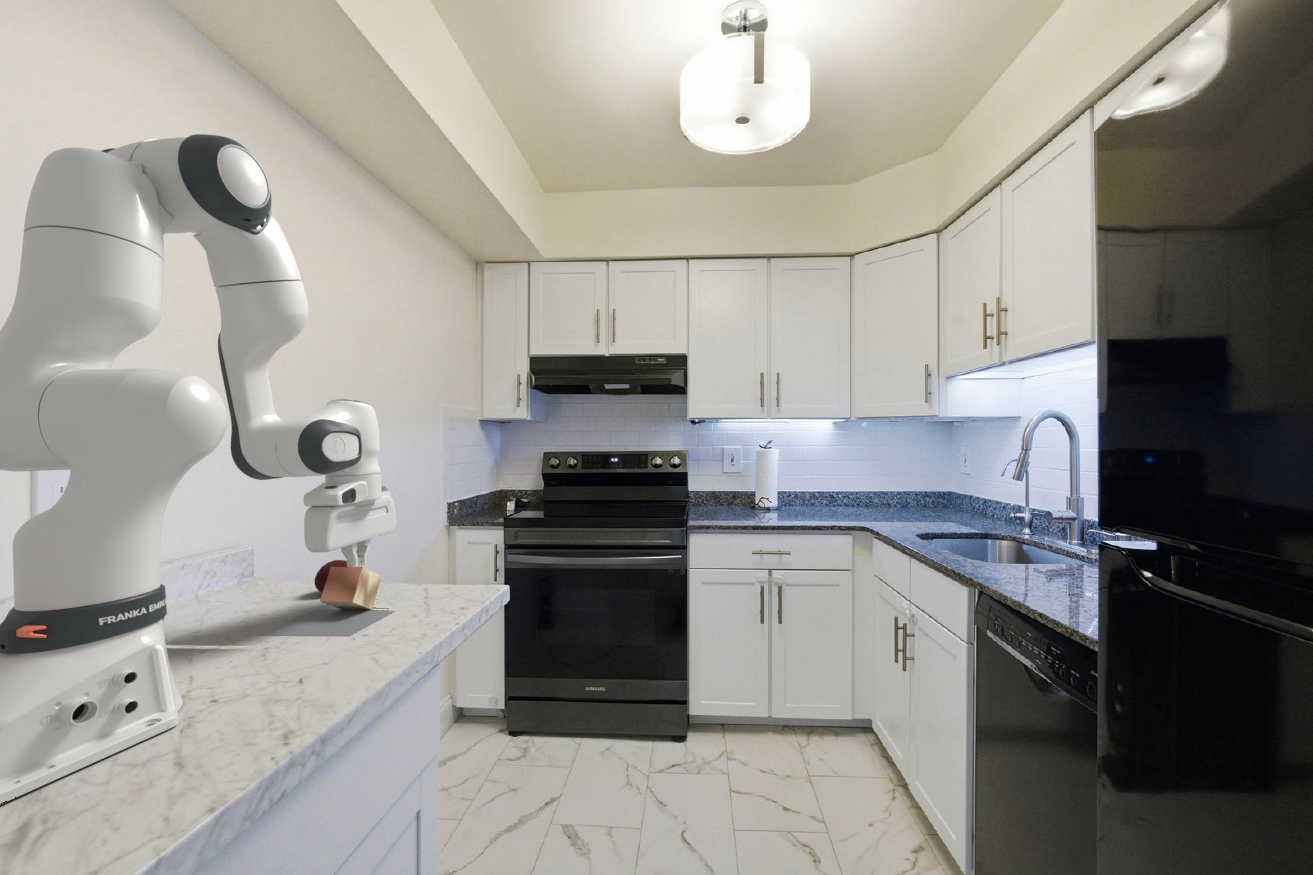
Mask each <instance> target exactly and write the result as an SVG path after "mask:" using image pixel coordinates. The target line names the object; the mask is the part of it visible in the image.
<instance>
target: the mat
mask: <svg viewBox="0 0 1313 875" xmlns="http://www.w3.org/2000/svg"><path fill="white" fill-rule="evenodd" d="M372 609H389V608H376V607H373V608H372ZM394 613H395V611H389V610H386V611H385V610H381V611H380V610H351V609H339V608H336V607H333V606H330V605H327V604H324V605H323V606H320V607H317V608H315V609H313V610H311V611H308V612H306V613H304V614H302V615H298V616H297V617H295V618H292V619H290V620H287V621H284V622H283V623H280V624H279V625H276V626H273V627H272V628H269V629H267V630H265V631H261V632H259V633H257V634H255V637H257V636H260V637H261V636H262V637H263V636H264V637H265V636H267V637H269V636H271V637H272V636H273V637H275V636H276V637H278V636H279V637H281V636H282V637H284V636H286V637H351V636H353V635H355V634H356V633H358V632H360V631H362V630H364V629H366V628H367V627H370V626H372V625H373V624H375V623H377V622H379V621H381V620H382V619H385V618H386V617H389V616H390V615H392V614H394Z"/></svg>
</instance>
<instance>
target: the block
mask: <svg viewBox="0 0 1313 875" xmlns="http://www.w3.org/2000/svg"><path fill="white" fill-rule="evenodd" d="M381 579H382V575H379V574H378V573H376V572H374V571H372V570H369V569H368V568H365V567H364V566H360V567H331V569H330V572H329V575H328V578H327V581H326V584H325V587H324V590H323V593H321V596H320V599H319V602H320V603H323V604H324V605H330V606H333V607H336V608H339V609H351V610H372V608H373V605H374V601H375V600H376V597H377V595H378V590H379V587H380V584H381Z"/></svg>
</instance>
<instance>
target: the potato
mask: <svg viewBox="0 0 1313 875" xmlns="http://www.w3.org/2000/svg"><path fill="white" fill-rule="evenodd" d="M331 567H347V560H344V559H343V560H342V559H334V560H331V561H328V562H326V563H325V564H323V565H322V566H321V567H320V568H319V570H317V572H316V574H315V578H314V586H315V588H316V590H317V591H318V592H320V593H321V594H322V593H323V590H324V587H325V584H326V581H327V578H328V575H329V572H330V569H331Z"/></svg>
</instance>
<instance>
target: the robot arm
mask: <svg viewBox="0 0 1313 875" xmlns="http://www.w3.org/2000/svg"><path fill="white" fill-rule="evenodd" d="M271 191H272V190H271V186H270V182H269V179H268V176H267V173H266V171H265V170H264V168H263V166H262V165H261V163H260V162H259V161H258V159H257V158H256V157H255V155H253V153H252V154H251V152H250V151H249V150H248V149H247V148H246V147H245V146H243V145H242V144H241V143H240V142H238V141H236V140H234V139H232V138H230V137H226V136H221V135H217V134H205V133H203V134H202V133H201V134H198V133H197V134H191V135H189V136H187V137H183V136H182V137H170V138H169V137H167V138H159V139H157V138H150V139H145V140H140V141H135V142H132V143H129V144H125V145H122V146H119V147H117V148H116V147H115V148H113V147H112V148H106V149H103V150H97V149H93V148H86V147H64V148H61V149H56V150H55V151H52V152H51V153H49V154H48V155H47V156H45V158H44V159H43V161H42V162H41V165H40V167H39V169H38V172H37V174H36V176H35V180H34V182H33V185H32V188H31V191H30V195H29V199H28V201H27V207H26V212H25V215H24V216H25V218H24V225H23V235H22V245H21V246H22V247H21V248H22V249H21V257H20V265H19V266H20V267H19V274H18V281H17V286H16V287H17V288H16V292H15V293H16V294H15V297H14V301H13V304H12V308H11V310H10V313H9V315H8V317H7V318H6V321H5V322H4V324H3V326H2V327H1V328H0V329H1V330H0V471H5V472H40V471H41V472H42V471H44V472H46V471H70V473H69V478H68V481H67V485H66V487H65V489H64V491H63V493H62V495H60V498H59V499H58V500H57V502H56V503H55V504H54V505H53V506H52V507H51V508H49V509H46V510H44V511H42V512H40V513H39V514H38V513H37V514H36V515H34V516H33V517H31V518H30V519H28V520H27V521H26V522H25V523H23V524H22V525H21V526H20V527H19V528H18V530H17V531H16V533H15V535H14V537H13V540H12V564H13V565H12V566H13V567H12V568H13V604H14V605H13V607H12V608H11V609H10V610H9V611H8V613H7V615H6V616H5V618H4V620H3V621H1V623H0V803H2V802H5V801H7V802H9V801H11V800H14V799H16V798H18V797H21V796H23V795H25V794H27V793H29V792H31V791H33V790H36V789H38V788H41V787H42V786H44V785H47V784H50V783H51V782H54V781H55V780H59V779H60V778H63V777H65V776H67V775H69V774H71V773H73V772H76V771H78V770H80V769H83V768H85V767H87V766H89V765H92V764H93V763H96V762H99V761H100V760H102V759H105V758H107V757H109V756H110V757H111V755H114V754H116V753H119V752H120V751H123V750H125V749H127V748H130V747H132V746H134V745H137V744H139V743H140V742H142V741H145V740H148V739H149V738H152V737H154V736H156V735H159V734H161V733H163V732H165V731H168V730H169V729H172V728H174V727H176V726H177V725H178V724H179V723H180V717H179V710H180V709H181V707H182V706H183V704H184V699H183V698H182V695H181V693H180V691H179V689H178V686H177V684H176V681H175V678H174V675H173V671H172V668H171V664H170V660H169V655H168V654H169V653H168V649H167V644H166V638H165V630H164V619H165V617H166V616H167V614H168V612H167V610H168V609H167V603H168V602H167V596H166V586H165V585H164V584H163V583H161V543H162V541H161V539H162V525H163V520H164V515H165V512H166V509H167V506H168V504H169V500H170V499H171V496H172V495H173V493H174V491H175V490H176V487H177V486H178V484H179V483H180V482H181V481H182V480H183V478H184V476H185V475H186V474H187V473H188V472H189V471H190V470H191V469H192V468H193V467H194V466H195V465H196V464H198V463H199V462H200V461H201V460H203V459H205V458H206V457H207V456H209V455H210V454H212V453H213V452H214V450H215V449H217V448H218V446H219V445H220V443H221V442H222V440H223V438H224V436H225V433H226V432H227V431H226V430H227V426H228V413H227V412H228V411H229V416H230V423H231V435H230V454H231V457H232V460H233V462H234V464H235V466H236V467H237V469H238V470H239V471H240V472H241V473H243V474H244V475H245V476H247V477H248V478H251V479H254V480H259V481H267V480H274V479H282V478H305V477H321V476H322V477H323V476H324V477H325V480H324V482H322V483H320V484H319V485H318V486H316V487H315V488H313V489H311V490H310V491H307V493H305V494H304V495H303V499H302V500H303V505H304V506H305V507H308V508H307V509H306V511H305V513H304V518H303V519H304V522H303V523H304V524H303V526H304V527H303V528H304V530H303V531H304V532H303V533H304V534H303V536H304V544H305V547H306V549H307V550H308V551H309V552H310V553H328V552H332V551H335V550H338V549H340V551H341V553H342V555H343V556H344V558H345V559H346V561H347V567H364V566H365V565H366V564H367V562H368V561H367V560H368V558H367V555H368V554H369V550H370V548H371V544H372V542H371V541H372V540H371V539H374V538H378V537H381V536H385V535H387V534H391V533H393V532H395V531H396V528H397V522H398V521H397V511H396V506H395V505H396V504H395V501H394V498H393V497H392V496H391V494H392V493H391V491H390V490H389V489H388V488H387V487H386V486H385V485H382V470H381V467H380V464H379V455H380V451H381V440H380V438H381V437H380V436H381V435H380V427H379V421H378V416H377V413H376V410H375V409H374V407H373V406H372V405H370V404H369V403H367V402H364V401H362V400H354V399H353V400H352V399H343V398H342V399H333V400H330V401H328V402H327V403H326V405H325V406H324V407H323V408H322V409H321V410H318V411H317V412H314V413H313V414H309V415H307V416H305V418H302V417H301V418H294V419H282V418H281V417H279V416H278V414H277V412H276V409H275V405H274V399H273V393H272V392H273V391H272V386H271V381H270V377H269V375H270V374H269V368H270V367H269V366H270V362H271V360H272V357H273V356H274V355H275V354H276V353H277V352H278V351H279V350H280V349H281V348H283V347H284V346H285V345H287V344H289V343H290V342H292V341H293V340H295V339H296V338H297V337H298V336H299V335H300V334H301V333H302V332H303V330H304V328H305V326H306V325H307V323H308V320H309V317H310V313H309V312H310V308H309V301H308V297H307V293H306V288H305V286H304V282H303V279H302V275H301V272H300V270H299V266H298V263H297V260H296V258H295V255H294V253H293V251H292V248H291V245H290V244H289V241H288V240H287V237H286V235H285V233H284V231H283V230H282V227H281V225H280V224H279V222H278V221H277V219H276V218H275V217H274V216H273V215H272V203H273V202H272V201H273V200H272V199H273V198H272V192H271ZM185 233H194V234H192V237H193V238H194V239H195V240H196V241H198V244H200V246H201V247H202V248H203V250H204V251H205V255H206V258H207V264H208V268H209V269H208V270H209V273H210V276H211V279H212V282H213V287H214V288H215V292H216V296H217V300H218V304H219V310H220V319H221V321H220V323H221V324H220V325H221V326H220V331H219V333H218V335H217V336H218V337H217V351H218V352H217V353H218V359H219V364H220V371H221V375H222V381H223V386H224V390H225V391H224V392H225V395H226V402H227V405H228V410H227V408H226V407H227V406H226V404H225V403H224V400H223V399H222V396H221V395H220V394H219V392H218V390H216V389H215V387H214V386H213V385H211V384H210V382H208V381H207V380H205V379H204V378H202V377H200V376H196V375H193V374H192V375H191V374H187V373H181V372H176V371H169V370H162V369H155V368H147V367H146V368H144V367H143V368H142V367H141V368H140V367H139V368H111V366H112V365H113V364H114V361H115V360H116V358H117V357H118V356H119V355H120V354H121V352H123V351H124V350H126V348H127V347H129V346H131V345H132V344H134V343H136V342H137V341H140V340H142V339H144V338H145V337H147V336H148V335H150V334H151V333H153V332H154V330H156V328H157V327H158V326H159V323H160V321H161V319H162V318H161V317H162V303H163V302H162V301H163V299H162V298H163V284H164V281H163V280H164V262H165V261H164V259H165V258H164V257H165V245H164V244H165V243H164V235H166V234H185ZM15 797H16V798H15ZM5 803H6V802H5ZM2 804H3V803H2Z"/></svg>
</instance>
